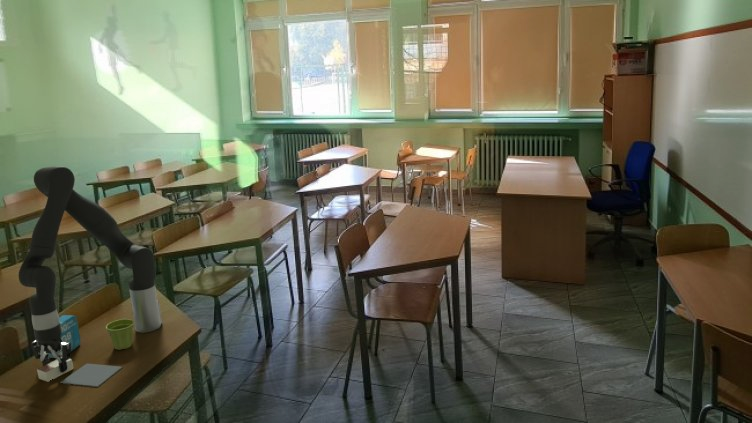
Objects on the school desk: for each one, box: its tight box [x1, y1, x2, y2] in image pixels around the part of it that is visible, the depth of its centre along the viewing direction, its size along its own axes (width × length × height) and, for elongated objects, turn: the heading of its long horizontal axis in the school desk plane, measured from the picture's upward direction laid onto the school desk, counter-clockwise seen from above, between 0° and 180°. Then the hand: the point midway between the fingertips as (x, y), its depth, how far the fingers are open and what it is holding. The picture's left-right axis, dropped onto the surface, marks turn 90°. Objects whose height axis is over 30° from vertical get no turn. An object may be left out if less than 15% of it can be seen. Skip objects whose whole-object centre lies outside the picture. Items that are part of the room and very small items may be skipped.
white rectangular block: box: [36, 357, 75, 383], centre depth 184 cm, size 9×5×4 cm, turn 152°
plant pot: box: [105, 318, 135, 350], centre depth 201 cm, size 9×9×9 cm
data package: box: [48, 314, 82, 359], centre depth 199 cm, size 12×4×12 cm, turn 170°
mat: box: [59, 363, 123, 388], centre depth 183 cm, size 12×14×1 cm
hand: (55, 370), depth 185 cm, fingers closed on white rectangular block, 5 cm apart
